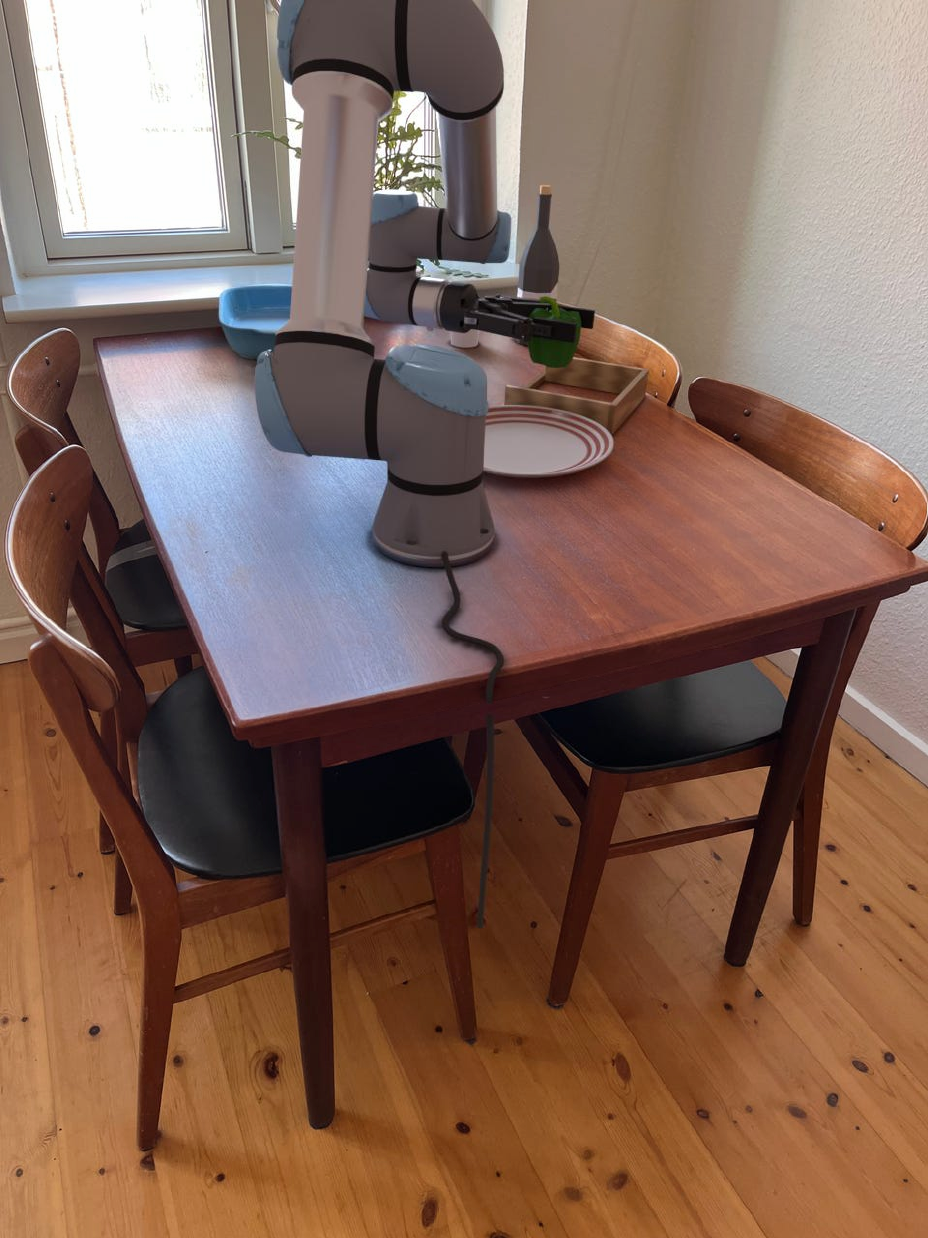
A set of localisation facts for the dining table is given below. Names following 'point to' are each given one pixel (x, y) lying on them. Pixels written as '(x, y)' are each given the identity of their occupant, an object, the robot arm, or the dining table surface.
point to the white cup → (465, 338)
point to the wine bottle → (539, 257)
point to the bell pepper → (553, 350)
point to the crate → (588, 376)
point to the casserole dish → (254, 316)
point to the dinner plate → (541, 442)
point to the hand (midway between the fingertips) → (584, 326)
